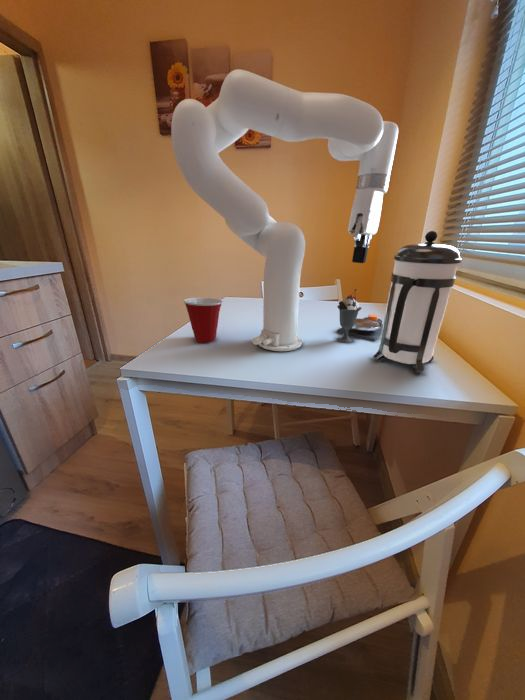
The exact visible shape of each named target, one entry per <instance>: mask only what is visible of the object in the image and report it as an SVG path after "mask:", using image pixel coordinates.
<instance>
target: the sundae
mask: <svg viewBox="0 0 525 700" xmlns="http://www.w3.org/2000/svg"><path fill="white" fill-rule="evenodd" d="M357 291H358V289H357V288H354V292H353V293H354V296H353V293H351V294H349V295H348V296H346V297H345V298H343V300H340V301H339V302H338V305H337V306H336V307H337V309H338V310H339V326H340V328H343V329H344V334H342V336H338V337H337V338H336V339H335V340H336V341H337V342H339V343H340V344H341V343H342V344H353V343H354V339H353V338H351V337H349V335H348V330H349V329H351V328H352V327H353V326H354V324H355V321H356V319H358V314H359V312H360V311H361V310H362V307H361V306H360V304H359V302H358V301H357V300H358V298H357V296H356V292H357Z"/></svg>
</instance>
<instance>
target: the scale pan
mask: <svg viewBox="0 0 525 700" xmlns="http://www.w3.org/2000/svg"><path fill="white" fill-rule="evenodd" d="M379 327H380V324H379V323H377V322H375V321H372V320H368V319H363V318H356V321H355V324H354V326H353V327H352V328H354V329H358V330H367V331H371V330H377V329H379Z"/></svg>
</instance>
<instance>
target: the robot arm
mask: <svg viewBox="0 0 525 700" xmlns="http://www.w3.org/2000/svg"><path fill="white" fill-rule="evenodd" d="M249 130H251V131H254V132H258V133H259V134H260V133H261V134H263V135H266V136H269V137H272V138H275V139H278V140H281V141H284V142H288V143H296V142H297V143H298V142H303V141H308V140H314V139H327V150H328V152H329V154H330V156H331V157H332V158H333V159H335V160H336V161H339V162H350V161H359V166H358V173H357V179H356V185H355V191H354V192H355V195H354V199H353V201H352V205H351V210H350V216H349V221H348V226H347V233H349V234H350V235H353V237H352V238H353V239H354V244H353V253H352V259H351V263H356V264H365V263H366V262H367V257H368V251H369V247H370V243H371V240H372V238H373V236H375V235H376V234H377V232H378V229H379V226H380V221H381V220H380V219H381V214H382V208H383V198H384V194H387V192H388V189H389V183H390V178H391V172H392V167H393V164H394V163H393V162H394V159H395V153H396V146H397V141H398V136H399V126H398V124H397V123H395V122H393V121H389V120H383V116H382V114H381V112H380V111H379V110H378V109H377V108H375V107H374V106H373V105H372V104H370V103H368V102H366V101H363V100H361V99H359V98H356V97H354V96H350V95H348V94H343V93H336V92H317V91H316V92H315V91H312V92H311V91H309V92H307V91H306V92H305V91H300V90H297V89H294V88H291V87H289V86H286V85H283V84H281V83H279V82H276V81H274V80H271V79H269V78H266V77H264V76H261V75H259V74H256V73H254V72H251V71H248V70H245V69H242V68H241V69H240V68H239V69H238V68H237V69H234V70H231V71H230V72H229V73H228V74H227V75H226V76H225V78H224V80H223V82H222V84H221V88H220V91H219V95H218V97H217V98H216V99H215V100H214V101H213V102H211V103H210V104H208V105H207V106H205V105H204V103H202V102H201V101H199V100H196V99H194V98H185V99H182V100H181V101H180V102H178V103H177V105H176V106H175V108H174V110H173V113H172V116H171V128H170V131H171V132H170V133H171V135H170V136H171V145H172V151H173V155H174V158H175V161H176V164H177V166H178V169H179V171H180V173H181V175H182V177H183V178H184V180H185V182H186V183H187V185H188V186H189V187H190V188H191V190H192V191H193V192H194V193H195V194H196V195H197V196H198V197H199V198H200V199H201V200H202V201H204V202H205V203H206V204H208V206H209V207H211V209H213V210H214V211H215V212H216V213H217V214H219V215H220V216H221V217H222V218H223V219H224V222H225V224H226V226H227V228H228V229H229V230H230V232H232V234H234V235H235V236H237V237H238V238H239V239H240V240H242V242H244V243H246V244H247V245H248V247H250V248H252V249H253V250H254V251H256V252H257V254H259V255H261V256H262V257H264V258H265V262H264V263H265V264H264V270H263V307H262V308H263V311H262V312H263V313H262V316H263V317H262V323H263V324H262V329H261V331H260V335H259V336H256V337H254V338H252V339H251V341H252V344H253V345H254V346H257V345H258V346H259V347H260V348H261V349H264V350H268V351H273V352H290V351H295V350H298V349H299V348H300V347H301V346H302V344H303V340H302V338H301V337H300V336H298V321H299V306H300V291H301V289H300V287H301V276H302V268H303V263H304V258H305V253H306V238H305V234H304V233H303V231H302V229H301V228H300V227H299V226H298V225H297V224H295V223H292V222H289V221H276V220H275V218H273V217H272V216H271V215H270V211H269V207H268V204H267V203H266V201H265V200H264V199H263V198H262V197H261V195H259V194H258V193H257V192H255V190H253V189H252V188H251V187H250V186H248V185H247V184H246V183H245V182H244V181H243V180H242V179H240V178H239V176H237V175H236V174H235V172H233V171H232V170H231V169H230V168H229V167H228V166H227V164H225V162H224V161H223V160H222V158H221V156H220V155H219V153H221V152H222V151H224V150H226V149H227V148H228V147H230V146H231V145H232V144H234V143H235V142H236V141H238V140H239V139H240V138H242V137H243V136H244V135H245V134H246V133H247V132H248V131H249Z"/></svg>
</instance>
